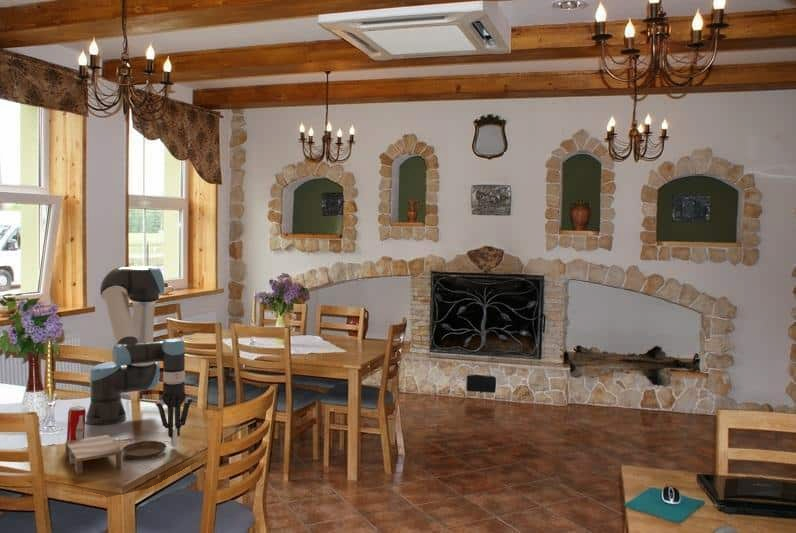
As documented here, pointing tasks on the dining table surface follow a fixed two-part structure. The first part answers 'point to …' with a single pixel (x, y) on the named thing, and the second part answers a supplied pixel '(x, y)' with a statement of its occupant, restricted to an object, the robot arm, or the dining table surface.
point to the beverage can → (76, 423)
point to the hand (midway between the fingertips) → (174, 445)
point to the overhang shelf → (91, 451)
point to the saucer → (144, 450)
